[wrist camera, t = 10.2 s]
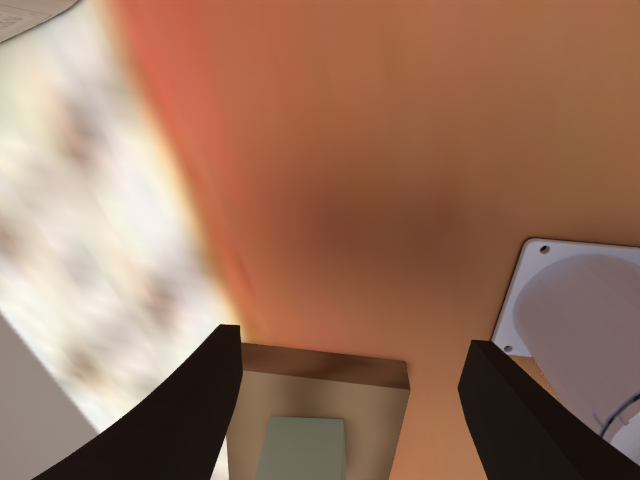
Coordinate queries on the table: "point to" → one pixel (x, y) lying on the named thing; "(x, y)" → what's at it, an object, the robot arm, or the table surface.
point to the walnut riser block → (319, 405)
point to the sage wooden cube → (303, 450)
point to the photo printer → (27, 14)
